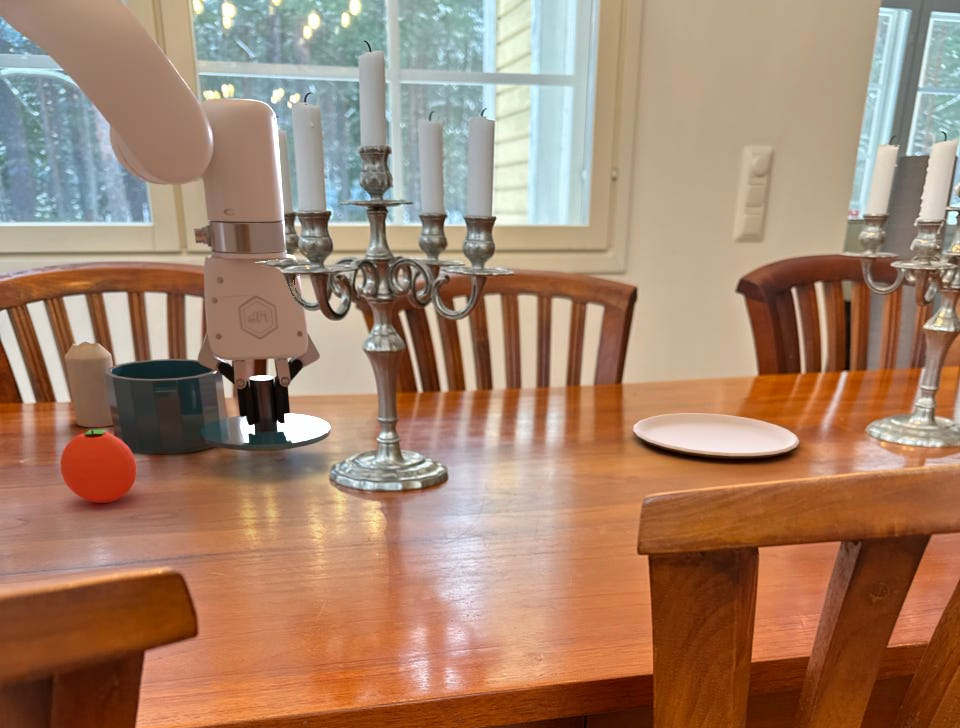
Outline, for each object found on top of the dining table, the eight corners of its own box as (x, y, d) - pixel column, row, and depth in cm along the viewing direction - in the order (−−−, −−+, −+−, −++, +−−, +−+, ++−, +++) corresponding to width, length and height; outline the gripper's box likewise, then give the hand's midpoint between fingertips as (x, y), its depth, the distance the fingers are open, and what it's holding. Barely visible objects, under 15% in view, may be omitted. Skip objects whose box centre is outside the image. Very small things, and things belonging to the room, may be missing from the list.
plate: (669, 467, 104) (670, 456, 103) (609, 423, 122) (610, 414, 121) (830, 460, 108) (832, 450, 107) (750, 419, 126) (751, 410, 125)
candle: (77, 429, 114) (62, 347, 109) (76, 419, 118) (61, 340, 114) (123, 425, 116) (110, 345, 111) (120, 416, 120) (107, 338, 116)
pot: (114, 464, 101) (101, 387, 97) (118, 424, 116) (107, 357, 112) (234, 456, 104) (226, 382, 101) (223, 419, 120) (216, 353, 116)
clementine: (74, 489, 93) (61, 420, 89) (145, 485, 94) (134, 418, 91) (62, 514, 86) (47, 441, 82) (138, 510, 87) (127, 438, 84)
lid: (204, 460, 92) (196, 395, 89) (198, 427, 104) (190, 368, 101) (341, 451, 96) (337, 387, 93) (320, 420, 108) (316, 363, 105)
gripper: (165, 244, 85) (191, 435, 94) (334, 243, 90) (344, 425, 98) (164, 238, 92) (188, 418, 100) (322, 238, 96) (332, 410, 105)
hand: (265, 420), depth 99 cm, fingers closed on lid, 2 cm apart
